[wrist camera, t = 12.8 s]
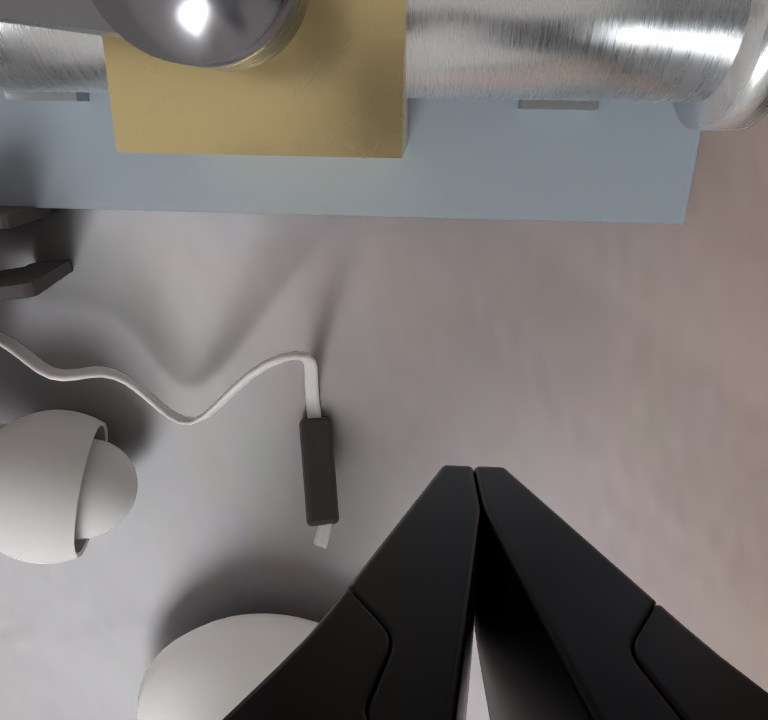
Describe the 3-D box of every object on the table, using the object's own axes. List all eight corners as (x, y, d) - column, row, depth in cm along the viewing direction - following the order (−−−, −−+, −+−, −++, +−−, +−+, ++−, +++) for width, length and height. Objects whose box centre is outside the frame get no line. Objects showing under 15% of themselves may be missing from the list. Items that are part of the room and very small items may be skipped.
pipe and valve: (745, -110, 16) (962, -257, 9) (697, 151, 18) (846, 173, 11) (-130, -112, 17) (-465, -245, 10) (-73, 135, 19) (-321, 148, 12)
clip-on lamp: (369, 258, 24) (-195, 152, 20) (406, 295, 18) (-389, 156, 14) (313, 530, 27) (-182, 490, 23) (329, 637, 21) (-335, 610, 17)
